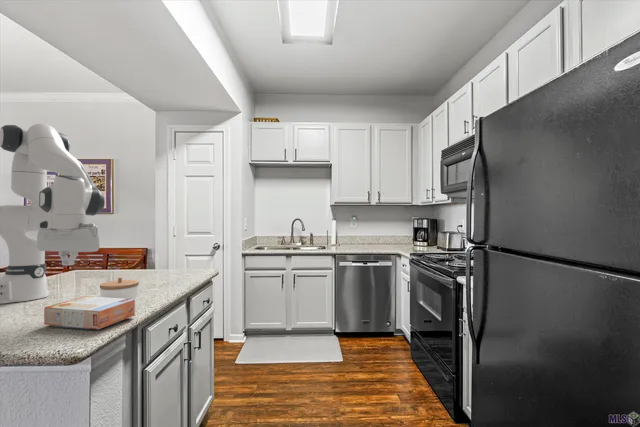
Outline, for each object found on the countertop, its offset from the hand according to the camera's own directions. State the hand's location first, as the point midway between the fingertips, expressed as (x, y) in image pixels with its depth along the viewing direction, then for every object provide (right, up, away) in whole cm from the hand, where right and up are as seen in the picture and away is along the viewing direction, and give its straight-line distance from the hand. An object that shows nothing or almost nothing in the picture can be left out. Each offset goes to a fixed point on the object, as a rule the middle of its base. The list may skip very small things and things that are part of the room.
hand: (68, 265), depth 105 cm
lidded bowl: (+7, -19, +16) cm, 26 cm away
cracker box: (-1, -15, 0) cm, 15 cm away
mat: (+9, -18, -2) cm, 20 cm away
